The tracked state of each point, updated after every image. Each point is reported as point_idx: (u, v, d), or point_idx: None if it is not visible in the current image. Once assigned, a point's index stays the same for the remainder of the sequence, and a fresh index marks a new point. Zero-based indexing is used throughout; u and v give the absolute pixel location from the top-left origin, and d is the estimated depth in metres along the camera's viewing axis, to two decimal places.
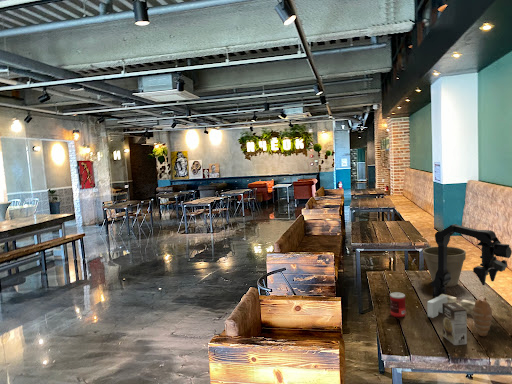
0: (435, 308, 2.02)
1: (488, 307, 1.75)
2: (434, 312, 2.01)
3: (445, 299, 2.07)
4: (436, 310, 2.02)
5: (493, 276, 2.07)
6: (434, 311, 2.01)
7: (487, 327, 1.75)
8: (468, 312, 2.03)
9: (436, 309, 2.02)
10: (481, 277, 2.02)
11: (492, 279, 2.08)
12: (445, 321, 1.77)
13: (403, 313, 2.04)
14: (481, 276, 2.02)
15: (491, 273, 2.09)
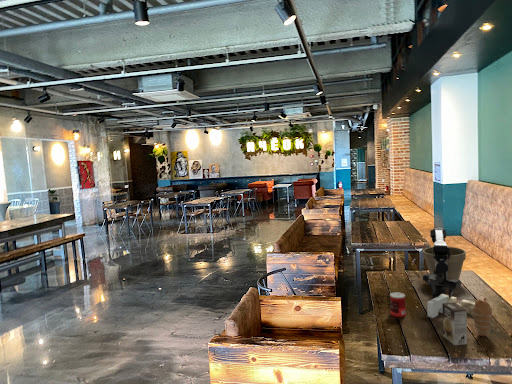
0: (435, 308, 2.02)
1: (488, 307, 1.75)
2: (434, 312, 2.01)
3: (445, 299, 2.07)
4: (436, 310, 2.02)
5: None
6: (434, 311, 2.01)
7: (487, 327, 1.75)
8: (468, 312, 2.03)
9: (436, 309, 2.02)
10: None
11: None
12: (445, 321, 1.77)
13: (403, 313, 2.04)
14: None
15: None
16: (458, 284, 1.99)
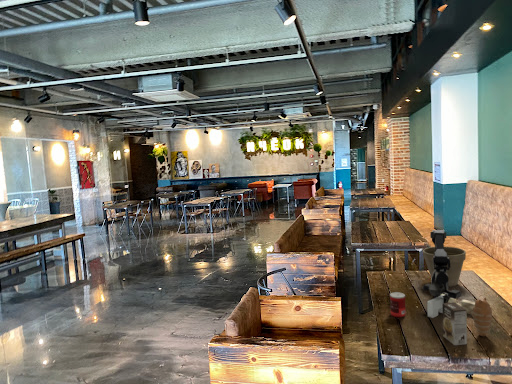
0: (435, 308, 2.02)
1: (488, 307, 1.75)
2: (434, 312, 2.01)
3: None
4: (436, 310, 2.02)
5: None
6: (434, 311, 2.01)
7: (487, 327, 1.75)
8: (468, 312, 2.03)
9: (436, 309, 2.02)
10: None
11: None
12: (445, 321, 1.77)
13: (403, 313, 2.04)
14: None
15: None
16: (458, 295, 1.99)
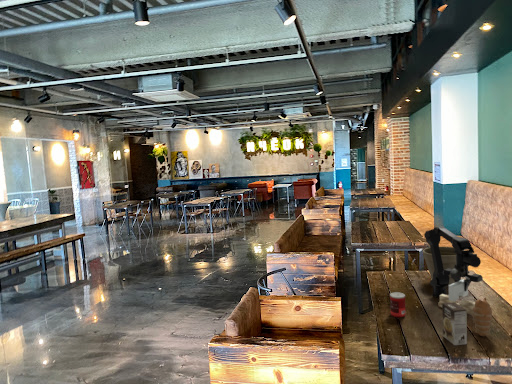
0: (456, 292, 2.04)
1: (488, 307, 1.75)
2: (455, 296, 2.03)
3: None
4: (457, 294, 2.04)
5: None
6: (455, 295, 2.03)
7: (487, 327, 1.75)
8: (468, 312, 2.03)
9: (457, 293, 2.04)
10: None
11: None
12: (445, 321, 1.77)
13: (403, 313, 2.04)
14: None
15: None
16: (480, 279, 2.01)
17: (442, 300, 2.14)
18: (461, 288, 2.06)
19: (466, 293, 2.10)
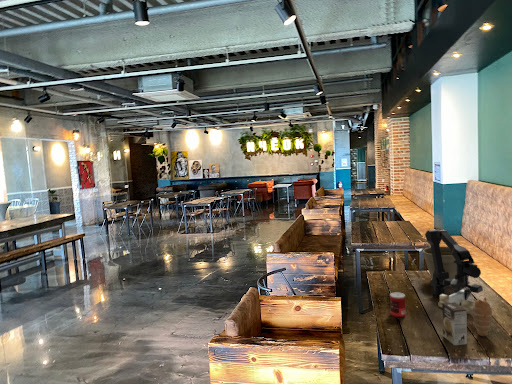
0: (457, 302, 2.04)
1: (488, 307, 1.75)
2: None
3: None
4: None
5: None
6: None
7: (487, 327, 1.75)
8: (468, 312, 2.03)
9: (457, 303, 2.05)
10: None
11: None
12: (445, 321, 1.77)
13: (403, 313, 2.04)
14: None
15: None
16: (480, 289, 2.02)
17: (442, 300, 2.14)
18: (461, 298, 2.07)
19: None
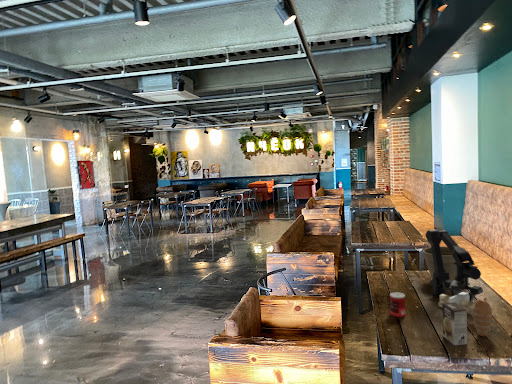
0: None
1: (488, 307, 1.75)
2: None
3: (466, 296, 2.10)
4: None
5: None
6: None
7: (487, 327, 1.75)
8: (468, 312, 2.03)
9: None
10: None
11: None
12: (445, 321, 1.77)
13: (403, 313, 2.04)
14: None
15: None
16: (480, 291, 2.02)
17: (442, 300, 2.14)
18: None
19: None
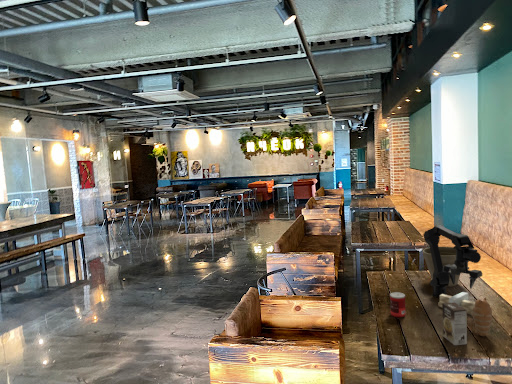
0: None
1: (488, 307, 1.75)
2: None
3: (466, 296, 2.10)
4: None
5: None
6: None
7: (487, 327, 1.75)
8: (468, 312, 2.03)
9: None
10: None
11: None
12: (445, 321, 1.77)
13: (403, 313, 2.04)
14: None
15: None
16: (479, 274, 2.02)
17: (442, 300, 2.14)
18: None
19: None
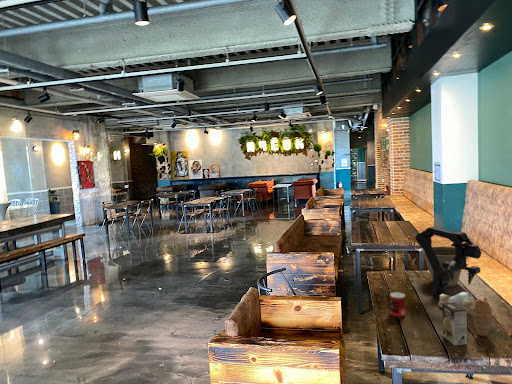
0: None
1: (488, 307, 1.75)
2: None
3: (466, 296, 2.10)
4: None
5: None
6: None
7: (487, 327, 1.75)
8: (468, 312, 2.03)
9: None
10: None
11: None
12: (445, 321, 1.77)
13: (403, 313, 2.04)
14: None
15: None
16: (477, 270, 2.08)
17: (442, 300, 2.14)
18: None
19: None
